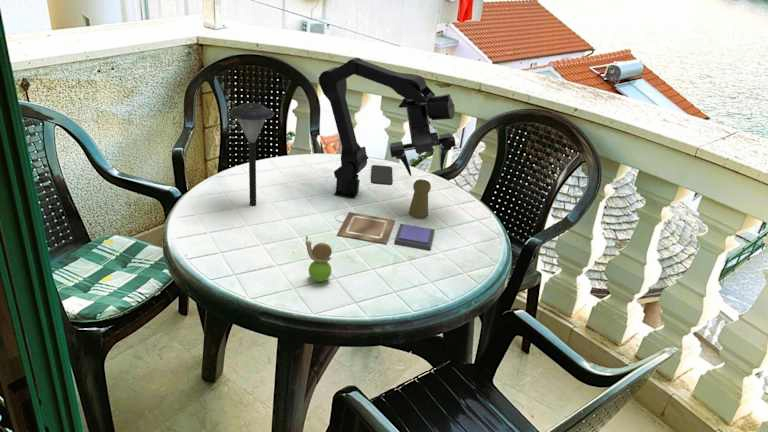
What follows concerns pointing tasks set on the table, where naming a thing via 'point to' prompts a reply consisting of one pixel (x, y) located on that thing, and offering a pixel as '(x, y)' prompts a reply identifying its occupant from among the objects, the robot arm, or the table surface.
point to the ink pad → (414, 236)
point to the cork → (420, 199)
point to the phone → (381, 175)
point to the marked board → (366, 228)
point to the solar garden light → (251, 135)
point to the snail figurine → (319, 261)
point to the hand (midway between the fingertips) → (426, 172)
